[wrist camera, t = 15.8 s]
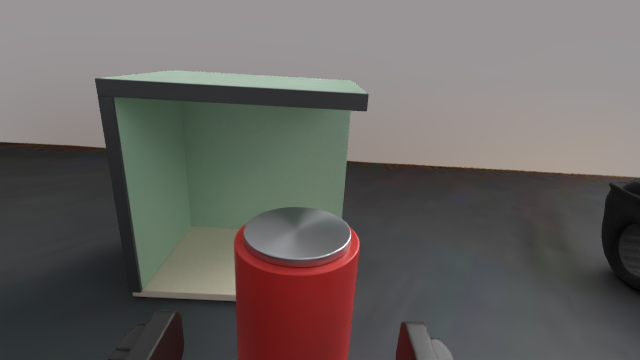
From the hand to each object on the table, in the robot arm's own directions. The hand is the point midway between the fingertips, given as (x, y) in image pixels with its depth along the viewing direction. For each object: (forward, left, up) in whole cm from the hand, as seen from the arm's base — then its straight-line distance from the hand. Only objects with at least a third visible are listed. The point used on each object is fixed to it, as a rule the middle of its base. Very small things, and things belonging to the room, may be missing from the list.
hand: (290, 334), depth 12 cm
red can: (-1, +3, -8) cm, 9 cm away
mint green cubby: (-11, +14, -8) cm, 19 cm away
